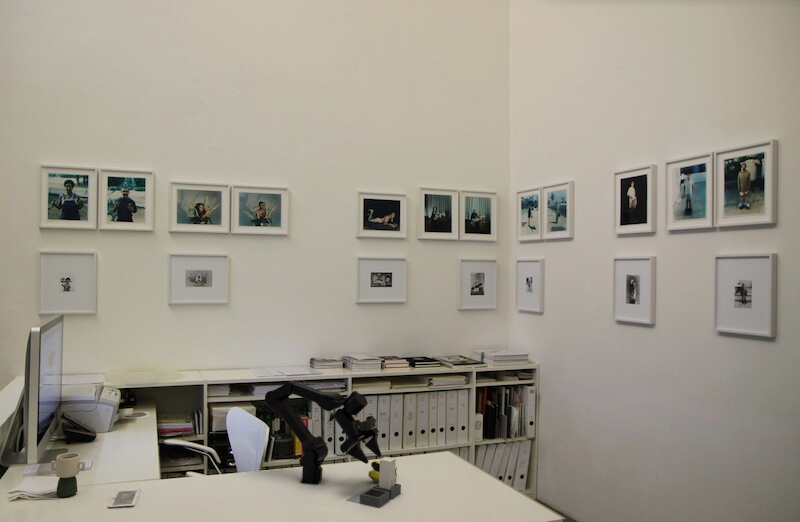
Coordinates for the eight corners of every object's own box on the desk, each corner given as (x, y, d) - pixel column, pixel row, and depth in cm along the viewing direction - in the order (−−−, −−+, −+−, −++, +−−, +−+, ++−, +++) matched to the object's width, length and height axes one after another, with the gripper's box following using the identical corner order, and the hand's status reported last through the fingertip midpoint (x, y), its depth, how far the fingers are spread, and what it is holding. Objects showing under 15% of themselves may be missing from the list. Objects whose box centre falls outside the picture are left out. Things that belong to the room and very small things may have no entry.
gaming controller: (367, 487, 225) (395, 488, 225) (368, 471, 225) (395, 473, 225) (371, 473, 240) (397, 475, 240) (371, 459, 240) (397, 460, 240)
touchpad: (140, 492, 213) (141, 485, 213) (134, 508, 199) (134, 501, 199) (115, 493, 211) (116, 487, 211) (107, 510, 197) (107, 503, 197)
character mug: (88, 491, 211) (90, 452, 211) (79, 499, 204) (81, 458, 204) (54, 491, 210) (56, 452, 210) (44, 498, 203) (46, 458, 203)
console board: (345, 503, 208) (345, 491, 208) (368, 489, 223) (369, 477, 223) (379, 511, 202) (379, 498, 203) (401, 496, 217) (401, 484, 217)
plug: (378, 495, 214) (380, 459, 214) (384, 491, 218) (385, 456, 218) (389, 497, 212) (391, 461, 213) (395, 493, 216) (396, 458, 216)
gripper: (348, 414, 212) (376, 452, 207) (375, 404, 229) (401, 439, 224) (328, 434, 216) (354, 472, 210) (355, 423, 232) (381, 458, 227)
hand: (374, 459), depth 218 cm, fingers open, 9 cm apart
